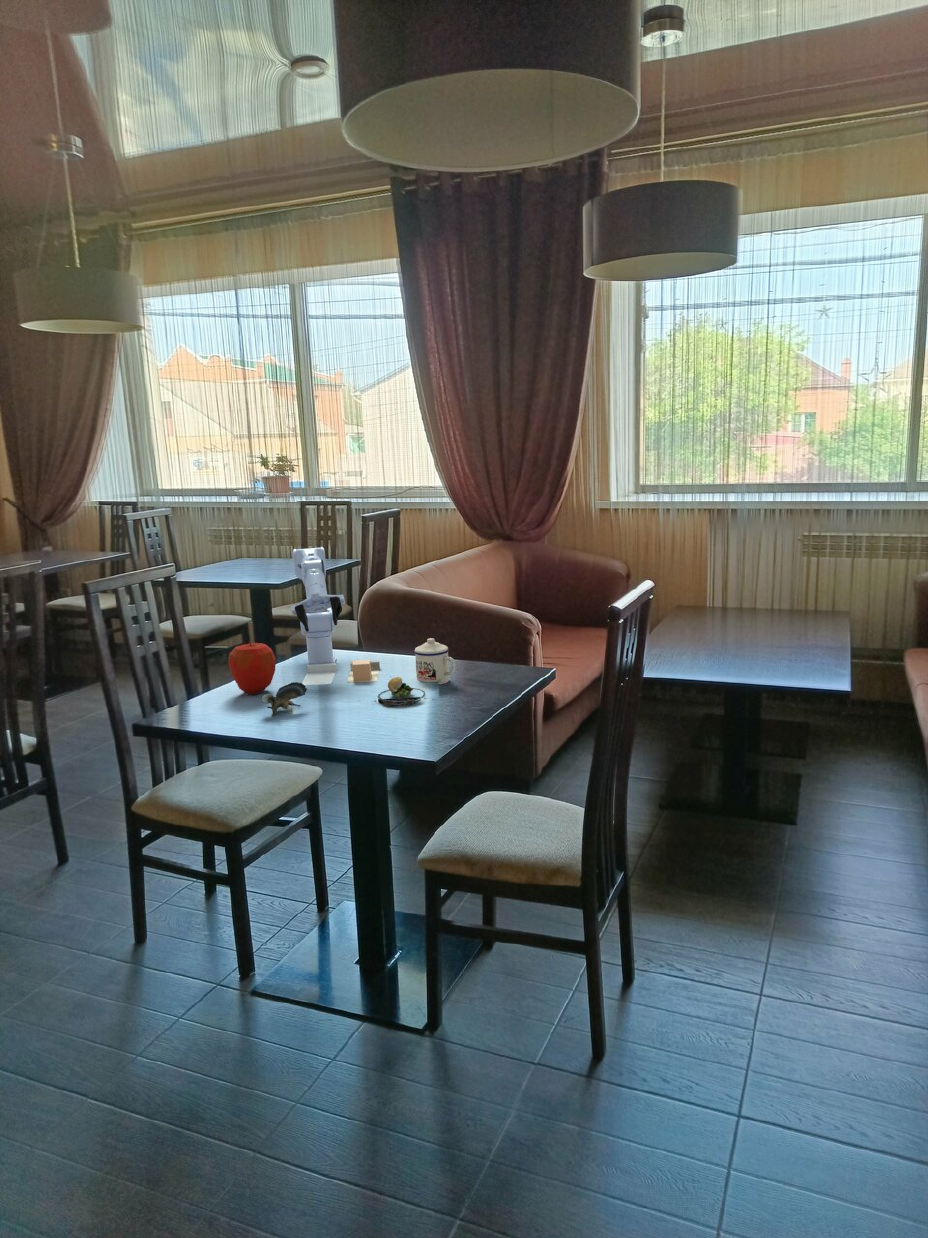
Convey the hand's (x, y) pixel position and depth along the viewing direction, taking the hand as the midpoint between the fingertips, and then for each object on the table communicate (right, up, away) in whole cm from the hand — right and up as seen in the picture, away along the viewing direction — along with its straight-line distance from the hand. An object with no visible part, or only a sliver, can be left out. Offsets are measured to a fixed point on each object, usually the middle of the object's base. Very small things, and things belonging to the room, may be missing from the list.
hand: (320, 625), depth 232 cm
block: (+11, -14, +1) cm, 18 cm away
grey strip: (-1, -15, +4) cm, 16 cm away
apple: (-17, -18, -3) cm, 25 cm away
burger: (+23, -19, -15) cm, 33 cm away
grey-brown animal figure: (-5, -21, -21) cm, 30 cm away
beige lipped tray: (+11, -15, +5) cm, 19 cm away
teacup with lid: (+31, -15, -2) cm, 35 cm away
